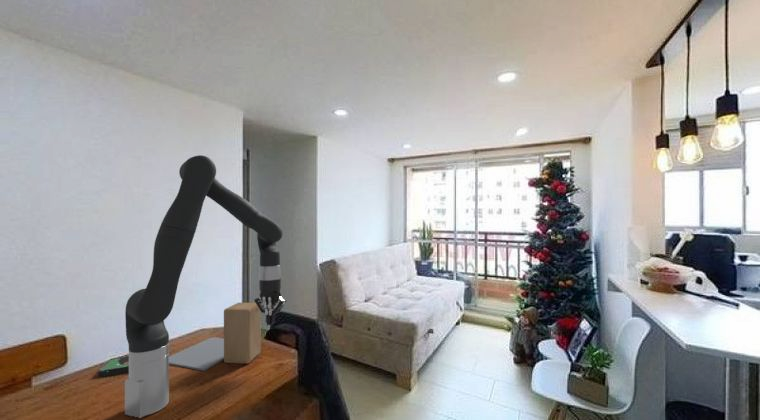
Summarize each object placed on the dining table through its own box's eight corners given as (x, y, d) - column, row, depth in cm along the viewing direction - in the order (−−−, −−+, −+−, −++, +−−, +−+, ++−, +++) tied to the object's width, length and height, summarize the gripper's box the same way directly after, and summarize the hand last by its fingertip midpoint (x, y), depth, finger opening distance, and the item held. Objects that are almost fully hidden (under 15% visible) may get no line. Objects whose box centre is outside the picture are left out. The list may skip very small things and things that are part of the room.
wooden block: (261, 352, 124) (261, 302, 124) (248, 364, 114) (248, 309, 114) (237, 352, 125) (237, 301, 125) (222, 363, 115) (222, 309, 115)
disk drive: (157, 359, 121) (110, 365, 116) (157, 351, 121) (110, 358, 116) (149, 371, 112) (96, 379, 106) (149, 363, 112) (96, 370, 106)
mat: (204, 370, 110) (204, 369, 110) (159, 362, 117) (159, 360, 117) (252, 344, 132) (252, 342, 132) (212, 338, 139) (212, 337, 139)
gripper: (248, 278, 114) (248, 326, 114) (278, 280, 110) (279, 329, 110) (262, 274, 121) (262, 319, 121) (291, 276, 117) (291, 322, 117)
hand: (270, 324), depth 115 cm, fingers closed
